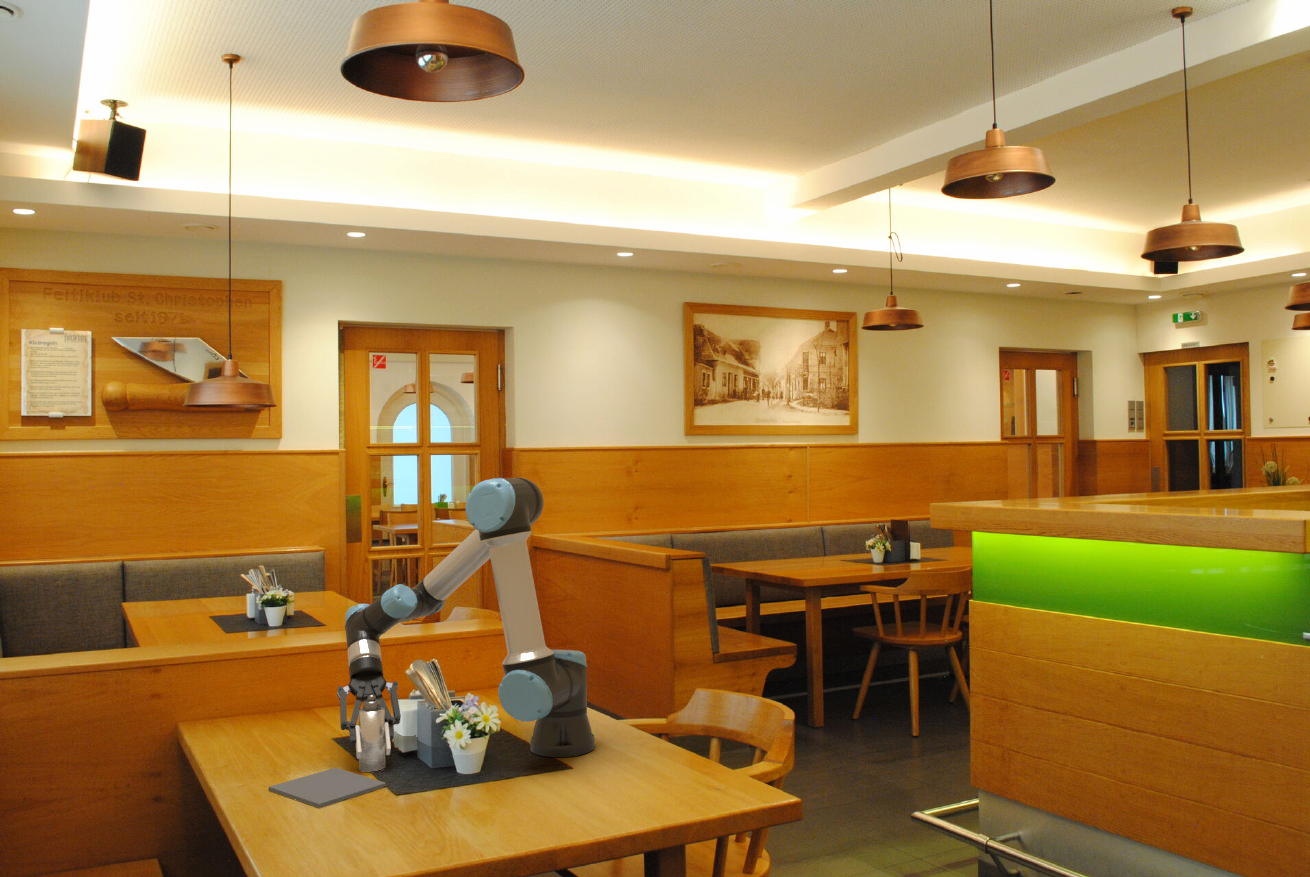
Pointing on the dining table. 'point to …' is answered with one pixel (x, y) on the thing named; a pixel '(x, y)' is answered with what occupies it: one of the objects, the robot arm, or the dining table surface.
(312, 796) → the slate mat
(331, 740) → the dining table surface
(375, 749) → the pepper mill
